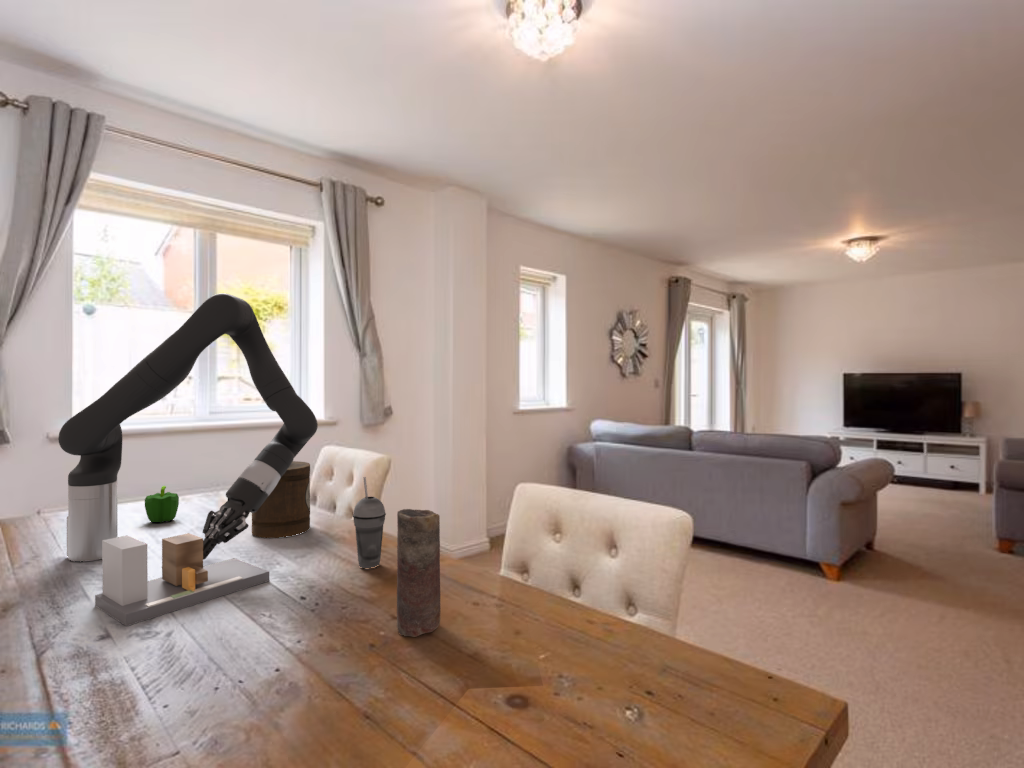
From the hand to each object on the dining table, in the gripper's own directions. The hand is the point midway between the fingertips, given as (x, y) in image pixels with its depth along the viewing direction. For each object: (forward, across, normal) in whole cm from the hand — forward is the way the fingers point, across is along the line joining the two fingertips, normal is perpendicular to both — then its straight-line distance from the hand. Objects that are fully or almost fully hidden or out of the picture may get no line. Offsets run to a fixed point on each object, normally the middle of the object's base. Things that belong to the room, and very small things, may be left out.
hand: (198, 557), depth 113 cm
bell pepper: (-8, -59, +17) cm, 62 cm away
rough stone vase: (-4, +50, +13) cm, 52 cm away
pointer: (+6, +7, -1) cm, 9 cm away
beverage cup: (-15, +19, +24) cm, 34 cm away
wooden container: (-18, -23, +28) cm, 40 cm away
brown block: (+5, +3, 0) cm, 5 cm away
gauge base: (+6, +2, +2) cm, 7 cm away
